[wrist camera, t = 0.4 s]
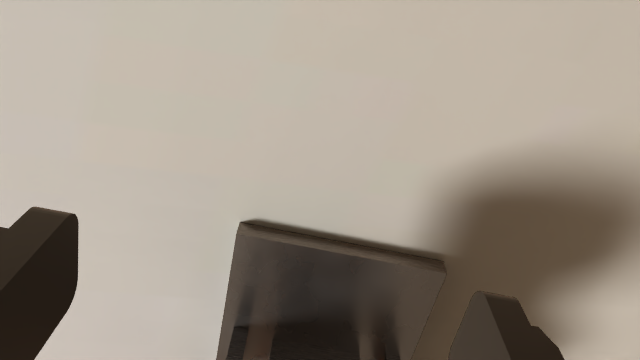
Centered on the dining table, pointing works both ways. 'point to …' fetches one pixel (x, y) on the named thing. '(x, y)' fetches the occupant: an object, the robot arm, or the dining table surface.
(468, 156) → the dining table surface
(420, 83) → the dining table surface
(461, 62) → the dining table surface
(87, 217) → the dining table surface
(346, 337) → the lever stand
